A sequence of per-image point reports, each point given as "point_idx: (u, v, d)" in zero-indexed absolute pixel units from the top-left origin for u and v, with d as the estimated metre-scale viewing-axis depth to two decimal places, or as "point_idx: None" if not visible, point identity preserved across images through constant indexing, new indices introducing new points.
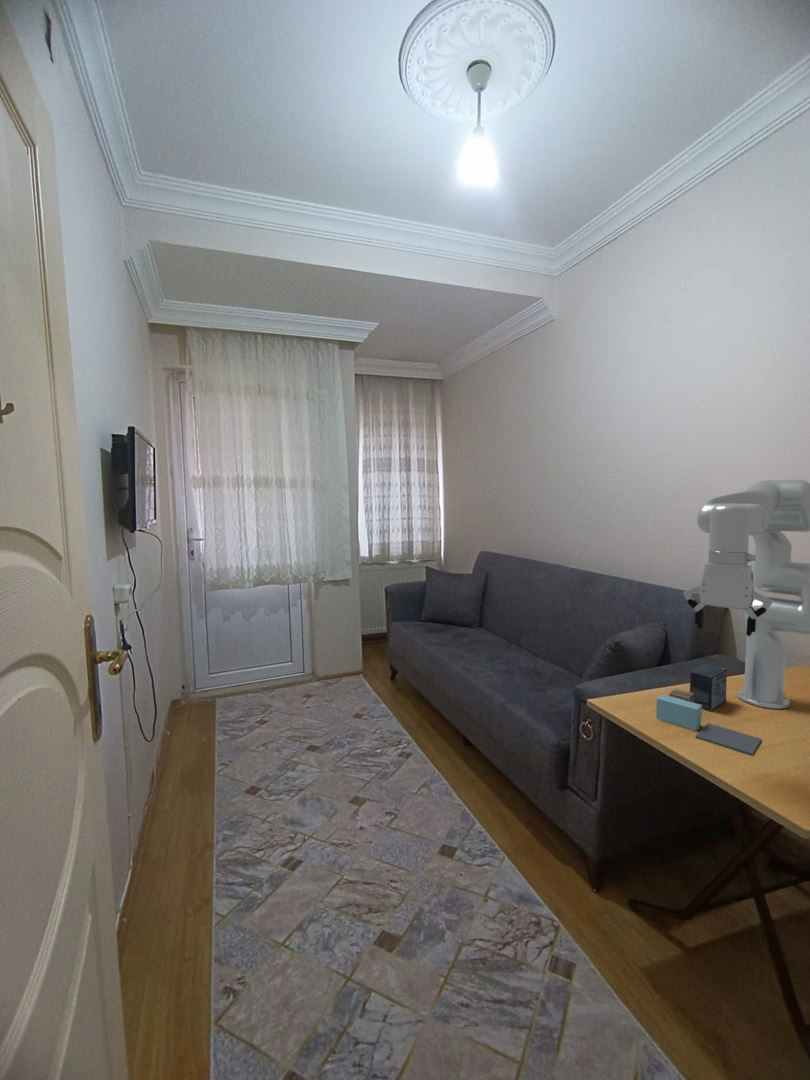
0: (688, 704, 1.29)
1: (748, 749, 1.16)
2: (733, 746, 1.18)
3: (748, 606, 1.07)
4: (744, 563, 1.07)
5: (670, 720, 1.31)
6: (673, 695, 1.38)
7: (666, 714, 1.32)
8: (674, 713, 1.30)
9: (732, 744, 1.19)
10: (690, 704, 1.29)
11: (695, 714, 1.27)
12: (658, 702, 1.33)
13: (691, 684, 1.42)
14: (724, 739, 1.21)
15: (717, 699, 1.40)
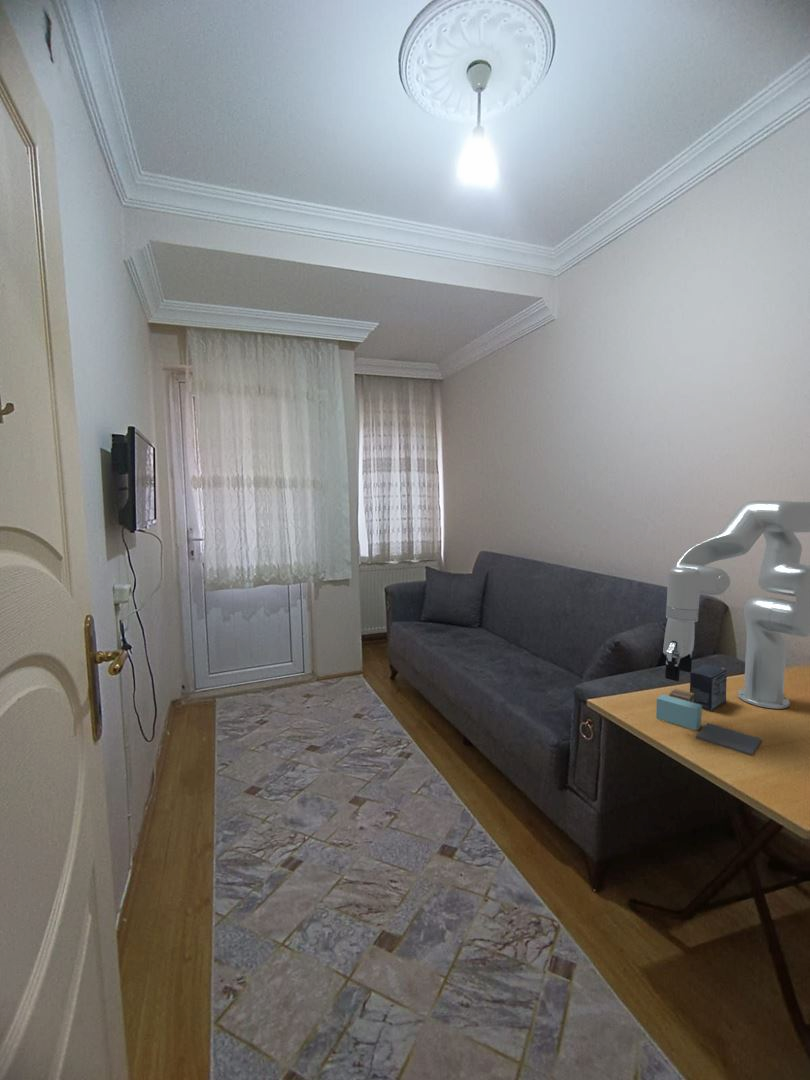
0: (688, 704, 1.29)
1: (748, 749, 1.16)
2: (733, 746, 1.18)
3: None
4: None
5: (670, 720, 1.31)
6: (673, 695, 1.38)
7: (666, 714, 1.32)
8: (674, 713, 1.30)
9: (732, 744, 1.19)
10: (690, 704, 1.29)
11: (695, 714, 1.27)
12: (658, 702, 1.33)
13: (691, 684, 1.42)
14: (724, 739, 1.21)
15: (717, 699, 1.40)
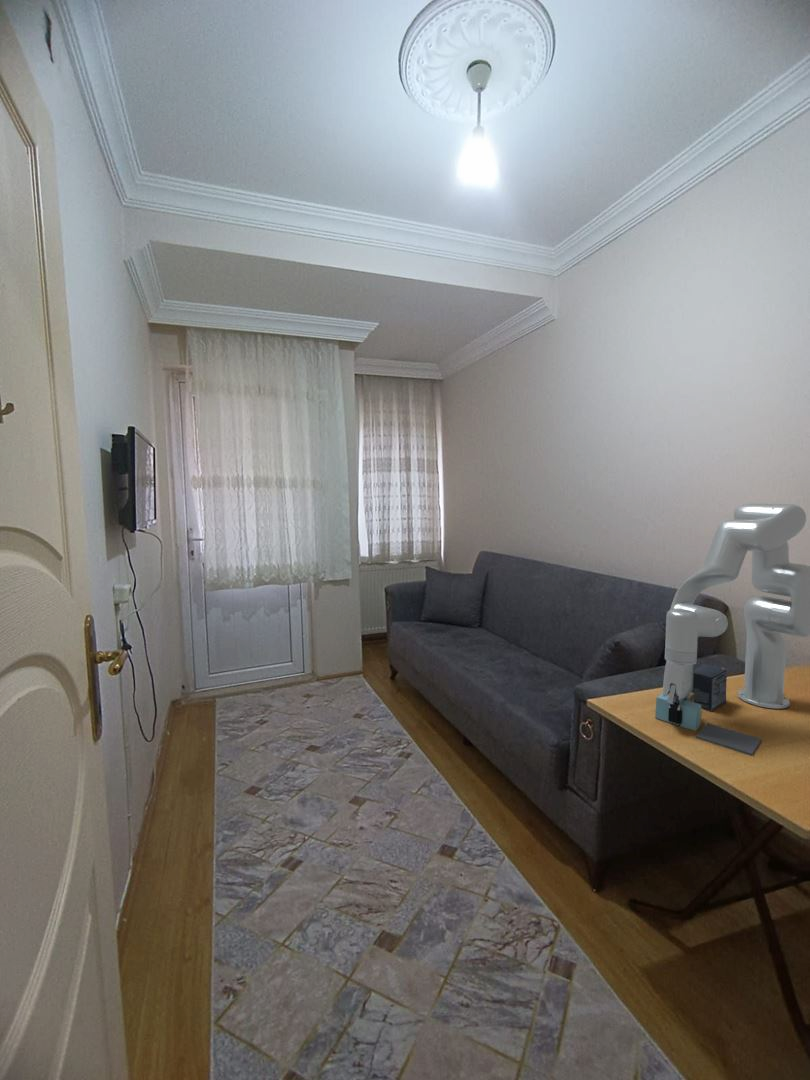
0: (687, 704, 1.29)
1: (748, 749, 1.16)
2: (733, 746, 1.18)
3: None
4: None
5: None
6: None
7: (666, 713, 1.32)
8: None
9: (732, 744, 1.19)
10: (690, 703, 1.29)
11: (694, 714, 1.27)
12: (657, 701, 1.33)
13: None
14: (724, 739, 1.21)
15: (717, 699, 1.40)
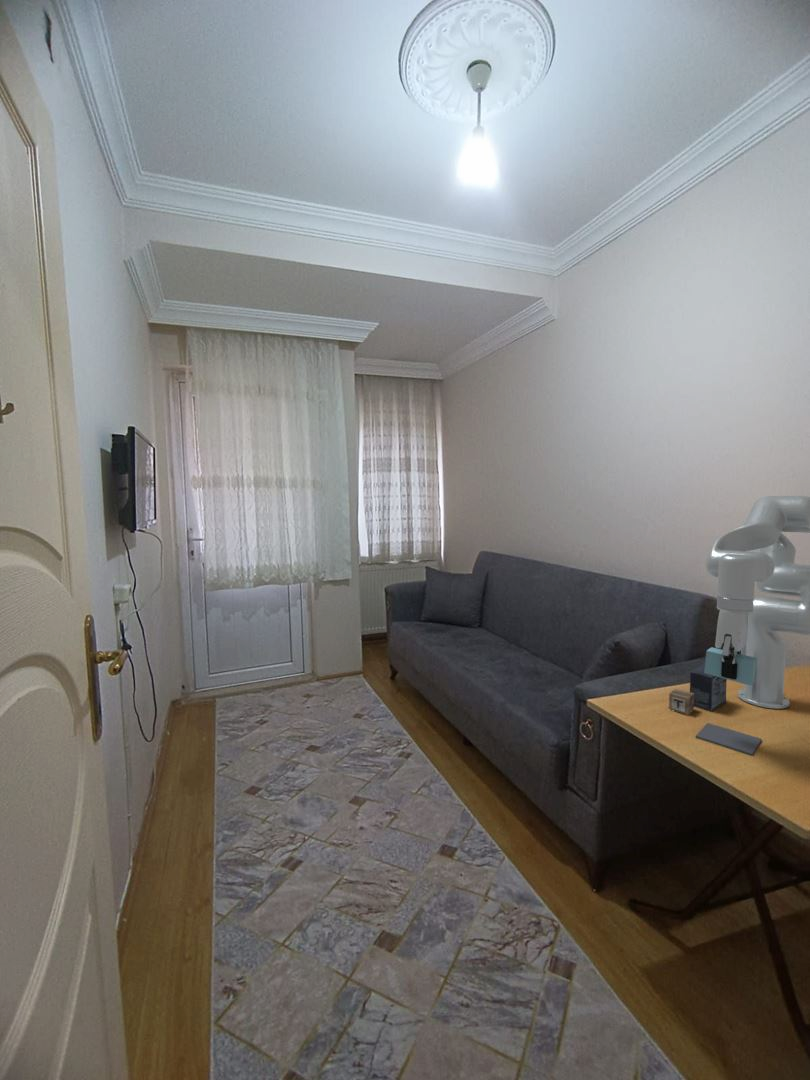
0: (742, 657, 1.19)
1: (748, 749, 1.16)
2: (733, 746, 1.18)
3: None
4: None
5: None
6: (673, 695, 1.38)
7: (717, 668, 1.21)
8: None
9: (732, 744, 1.19)
10: (744, 657, 1.19)
11: (751, 667, 1.16)
12: (708, 655, 1.23)
13: (691, 684, 1.42)
14: (724, 739, 1.21)
15: (717, 699, 1.40)
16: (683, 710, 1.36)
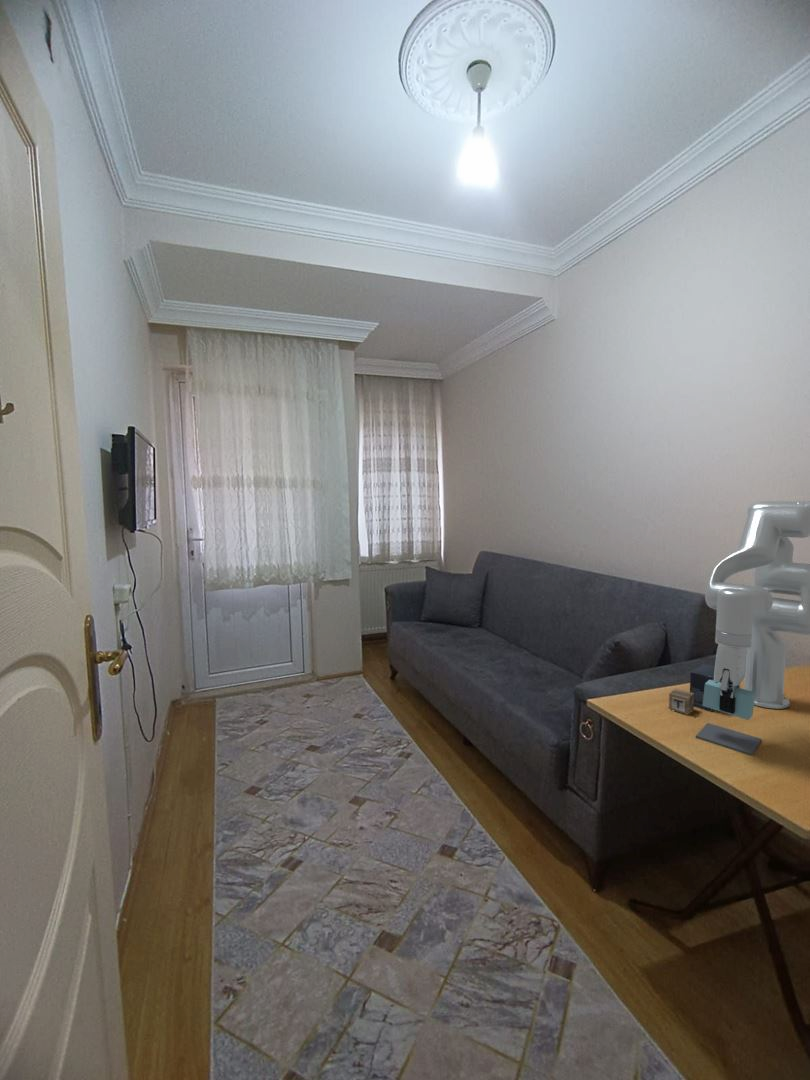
0: (740, 691, 1.19)
1: (748, 749, 1.16)
2: (733, 746, 1.18)
3: None
4: None
5: None
6: (673, 695, 1.38)
7: (715, 701, 1.22)
8: None
9: (732, 744, 1.19)
10: (742, 691, 1.19)
11: (749, 702, 1.17)
12: (706, 687, 1.23)
13: (691, 684, 1.42)
14: (724, 739, 1.21)
15: None
16: (683, 710, 1.36)
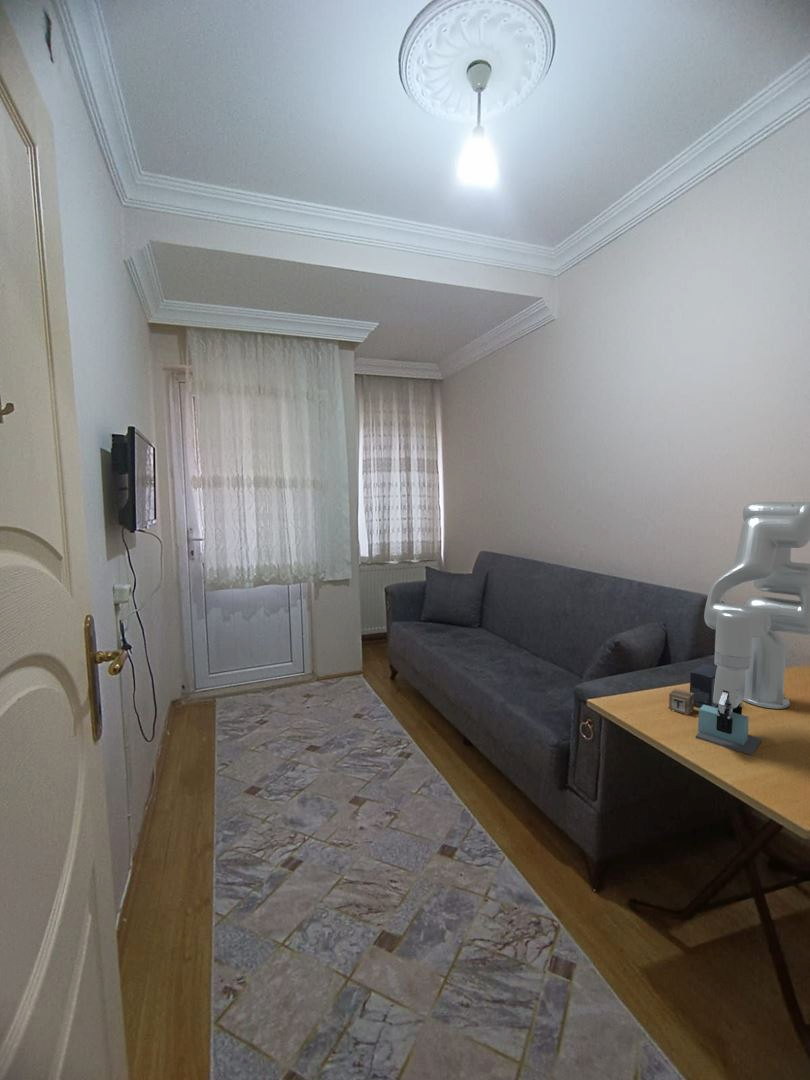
0: (733, 716, 1.21)
1: (748, 749, 1.16)
2: (733, 746, 1.18)
3: None
4: None
5: (714, 732, 1.23)
6: (673, 695, 1.38)
7: (710, 726, 1.23)
8: None
9: (732, 744, 1.19)
10: (736, 716, 1.21)
11: (742, 727, 1.18)
12: (700, 713, 1.25)
13: (691, 684, 1.42)
14: (724, 739, 1.21)
15: None
16: (683, 710, 1.36)
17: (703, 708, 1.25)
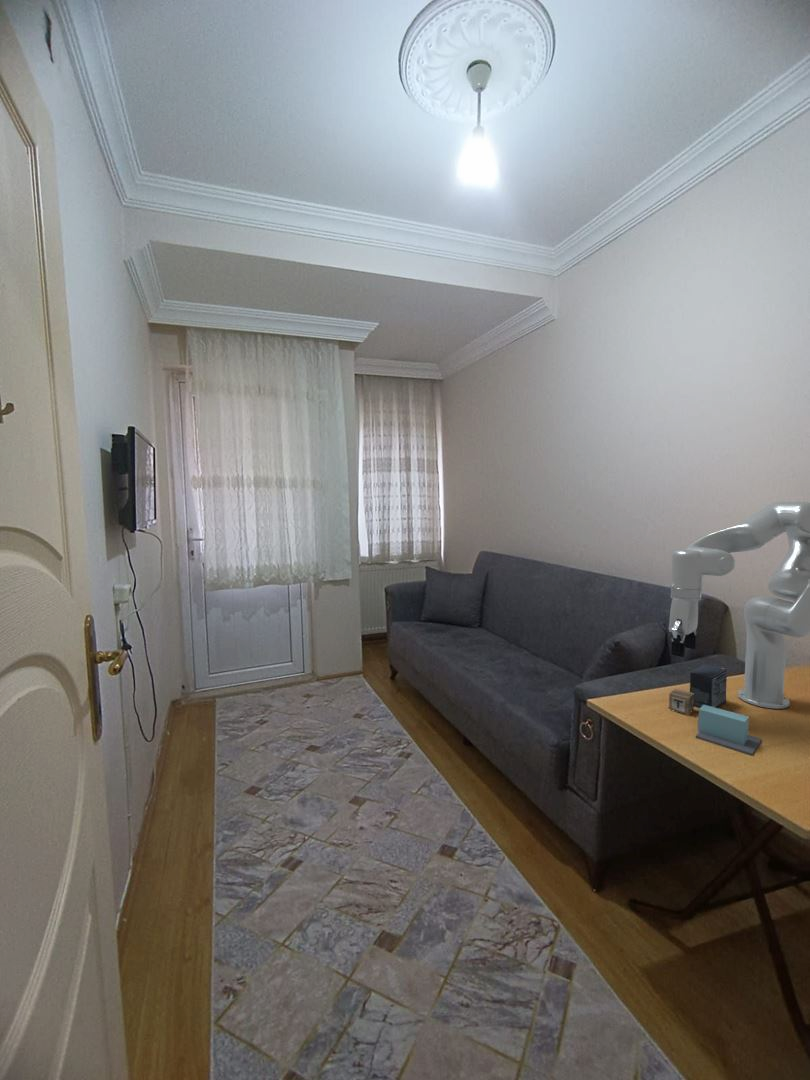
0: (733, 716, 1.21)
1: (748, 749, 1.16)
2: (733, 746, 1.18)
3: None
4: None
5: (714, 732, 1.23)
6: (673, 695, 1.38)
7: (710, 726, 1.23)
8: (719, 726, 1.22)
9: (732, 744, 1.19)
10: (736, 716, 1.21)
11: (742, 727, 1.18)
12: (700, 713, 1.25)
13: (691, 684, 1.42)
14: (724, 739, 1.21)
15: (717, 699, 1.40)
16: (683, 710, 1.36)
17: (703, 708, 1.25)
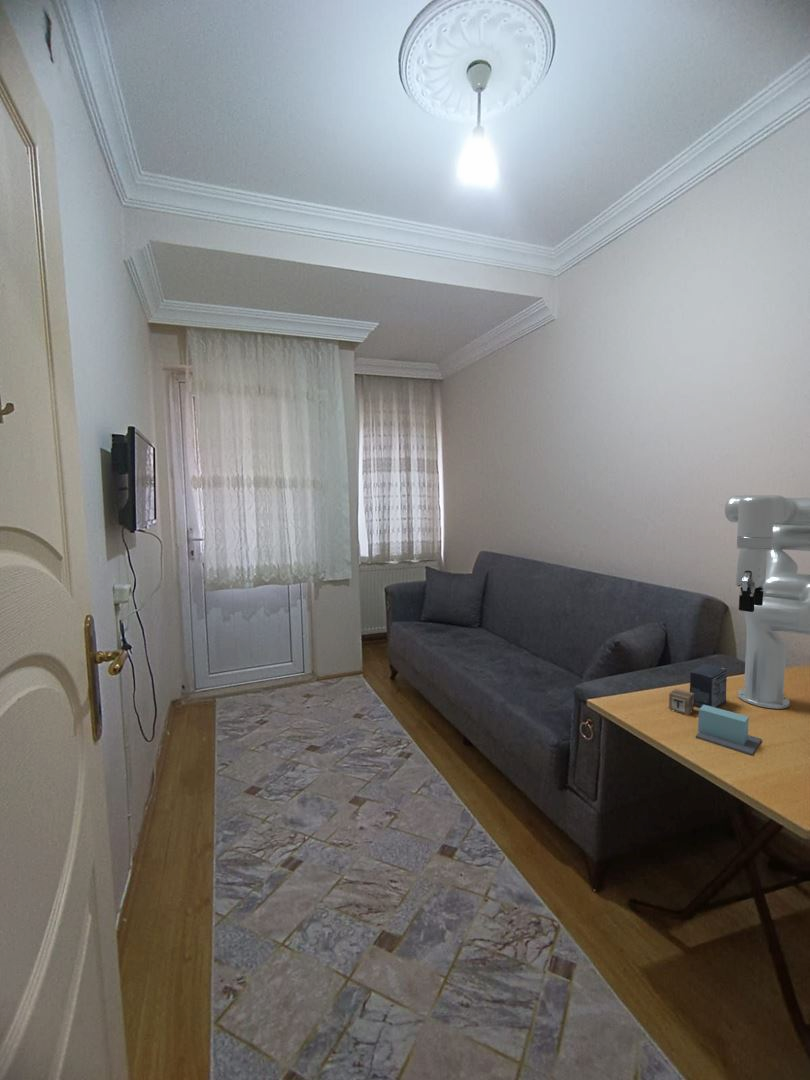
0: (733, 716, 1.21)
1: (748, 749, 1.16)
2: (733, 746, 1.18)
3: None
4: None
5: (714, 732, 1.23)
6: (673, 695, 1.38)
7: (710, 726, 1.23)
8: (719, 726, 1.22)
9: (732, 744, 1.19)
10: (736, 716, 1.21)
11: (742, 727, 1.18)
12: (700, 713, 1.25)
13: (691, 684, 1.42)
14: (724, 739, 1.21)
15: (717, 699, 1.40)
16: (683, 710, 1.36)
17: (703, 708, 1.25)
